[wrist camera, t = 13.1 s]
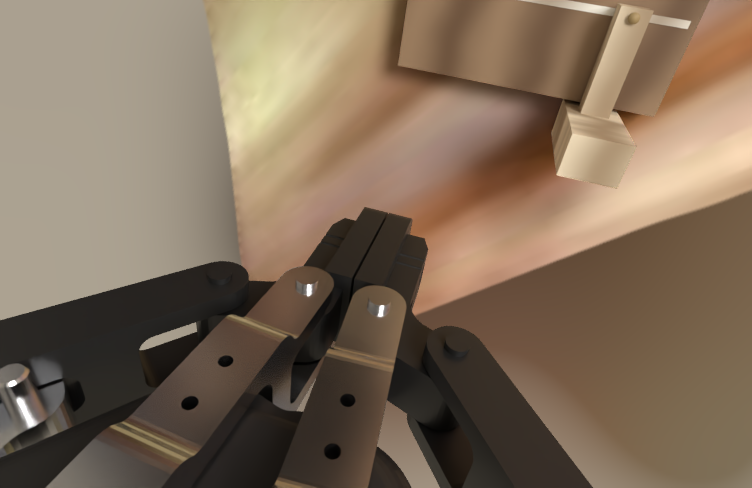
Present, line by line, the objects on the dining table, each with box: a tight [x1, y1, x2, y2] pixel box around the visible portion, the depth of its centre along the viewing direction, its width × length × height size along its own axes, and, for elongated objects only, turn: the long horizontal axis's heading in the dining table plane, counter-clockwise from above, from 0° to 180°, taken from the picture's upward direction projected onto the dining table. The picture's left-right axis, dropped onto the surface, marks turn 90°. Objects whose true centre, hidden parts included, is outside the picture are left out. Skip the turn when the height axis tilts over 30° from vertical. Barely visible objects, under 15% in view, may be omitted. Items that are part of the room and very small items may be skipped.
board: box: [398, 0, 709, 117], centre depth 35 cm, size 20×8×2 cm, turn 82°
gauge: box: [551, 3, 654, 189], centre depth 32 cm, size 4×10×9 cm, turn 172°
